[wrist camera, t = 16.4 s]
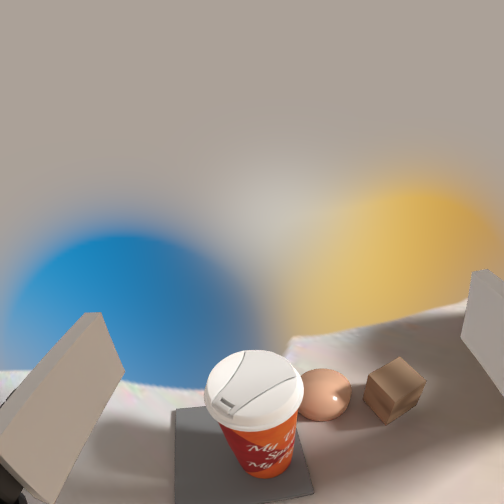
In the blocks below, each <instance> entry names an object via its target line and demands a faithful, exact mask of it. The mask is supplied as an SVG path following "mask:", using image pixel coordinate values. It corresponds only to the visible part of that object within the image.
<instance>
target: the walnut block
mask: <svg viewBox="0 0 504 504" xmlns="http://www.w3.org/2000/svg"><path fill="white" fill-rule="evenodd" d="M425 384H426V380H425V379H424V378H423V377H422V376H421V375H420V374H419V373H418V372H417V371H415V370H414V369H413V368H412V367H411V366H410V365H409V364H408V363H407V362H406V361H405V360H403V359H402V358H401V357H398V358H396V359H395V360H393V361H391V362H390V363H388V364H386V365H384V366H383V367H381V368H379V369H377V370H376V371H374V372H372V373H370V374H369V375H368V379H367V383H366V387H365V392H364V396H363V400H364V401H365V402H366V404H367V405H368V406H369V407H370V408H371V409H372V410H373V412H374V413H375V414H376V415H377V416H378V417H379V418H380V419H381V421H382V422H383V423H384V424H385V425H387V424H389V423H391V422H392V421H394V420H395V419H397V418H398V417H400V416H401V415H403V414H404V413H406V412H407V411H409V410H410V409H411V408H413V407H414V406H416V404H417V402H418V400H419V397H420V395H421V393H422V391H423V388H424V386H425Z"/></svg>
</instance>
